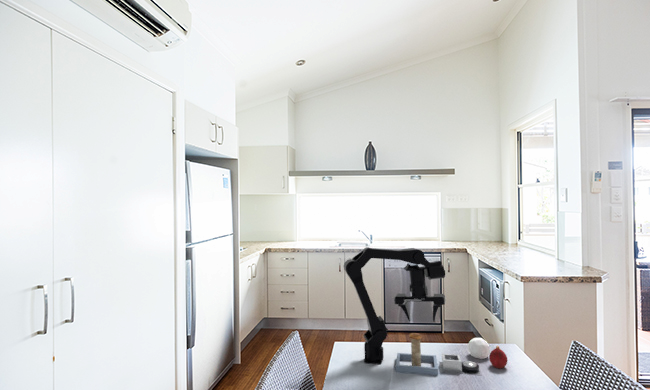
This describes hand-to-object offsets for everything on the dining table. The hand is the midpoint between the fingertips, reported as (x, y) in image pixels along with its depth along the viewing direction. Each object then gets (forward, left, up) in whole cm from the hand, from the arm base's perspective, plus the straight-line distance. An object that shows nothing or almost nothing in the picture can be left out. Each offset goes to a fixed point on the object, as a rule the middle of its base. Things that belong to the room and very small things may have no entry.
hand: (421, 321), depth 142 cm
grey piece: (+12, -11, -14) cm, 21 cm away
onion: (+26, -7, -14) cm, 30 cm away
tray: (-2, -12, -14) cm, 18 cm away
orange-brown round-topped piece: (-3, -12, -13) cm, 17 cm away
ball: (+21, +2, -14) cm, 25 cm away
